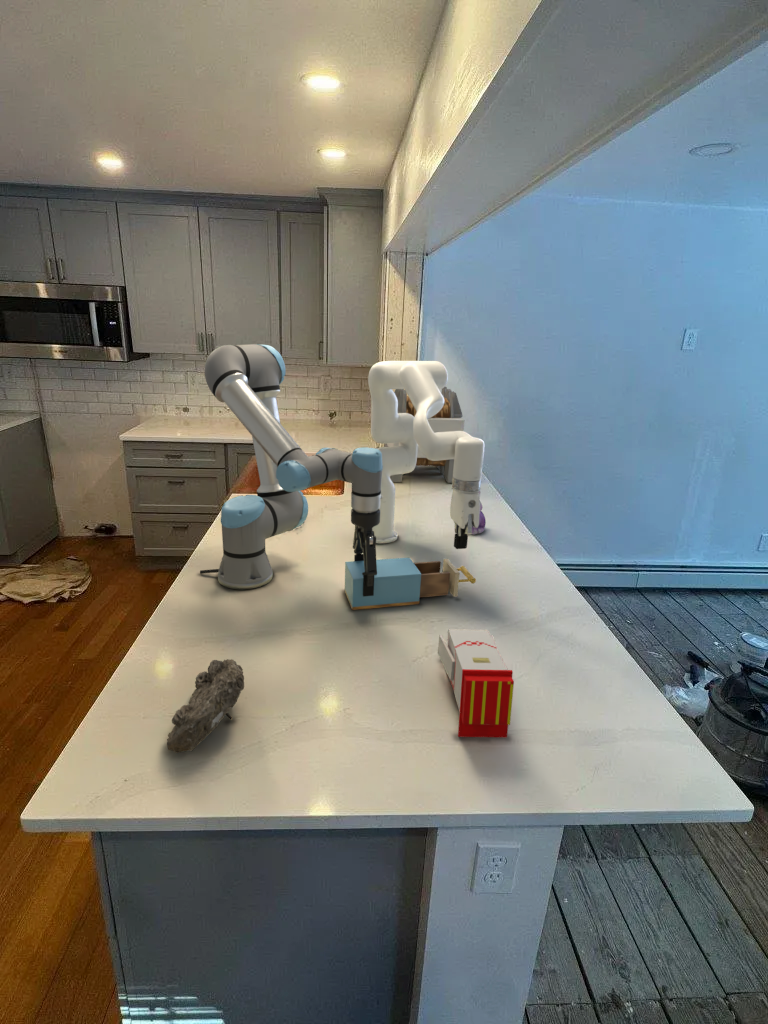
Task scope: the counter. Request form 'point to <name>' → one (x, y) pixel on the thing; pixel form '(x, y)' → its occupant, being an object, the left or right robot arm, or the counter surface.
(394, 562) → the cabinet
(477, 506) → the right robot arm
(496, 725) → the toy
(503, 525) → the counter surface
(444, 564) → the drawer
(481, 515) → the figurine
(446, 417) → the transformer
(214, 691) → the fossil
